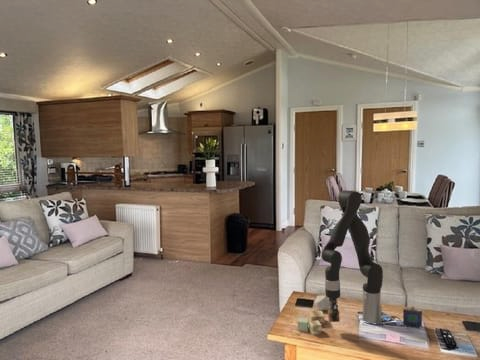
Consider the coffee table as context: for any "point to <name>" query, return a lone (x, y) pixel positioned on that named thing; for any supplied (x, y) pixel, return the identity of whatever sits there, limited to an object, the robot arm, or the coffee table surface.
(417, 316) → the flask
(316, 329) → the beech block
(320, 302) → the die
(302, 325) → the sage block
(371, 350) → the coffee table surface
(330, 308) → the walnut block
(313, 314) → the oak base
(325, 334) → the coffee table surface
